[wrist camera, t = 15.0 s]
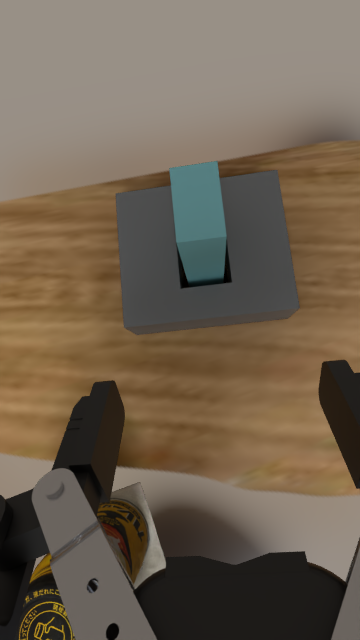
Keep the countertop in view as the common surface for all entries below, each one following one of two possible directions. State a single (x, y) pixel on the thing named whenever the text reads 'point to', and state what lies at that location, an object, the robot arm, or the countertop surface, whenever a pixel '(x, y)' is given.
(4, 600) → the robot arm
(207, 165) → the teal rectangular block
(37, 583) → the condiment
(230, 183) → the gray slotted block
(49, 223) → the countertop surface
